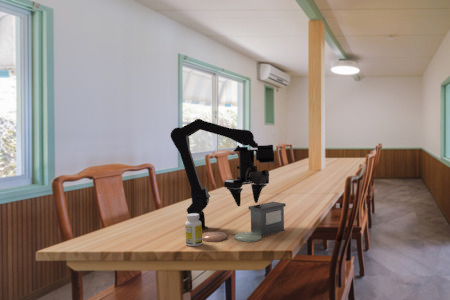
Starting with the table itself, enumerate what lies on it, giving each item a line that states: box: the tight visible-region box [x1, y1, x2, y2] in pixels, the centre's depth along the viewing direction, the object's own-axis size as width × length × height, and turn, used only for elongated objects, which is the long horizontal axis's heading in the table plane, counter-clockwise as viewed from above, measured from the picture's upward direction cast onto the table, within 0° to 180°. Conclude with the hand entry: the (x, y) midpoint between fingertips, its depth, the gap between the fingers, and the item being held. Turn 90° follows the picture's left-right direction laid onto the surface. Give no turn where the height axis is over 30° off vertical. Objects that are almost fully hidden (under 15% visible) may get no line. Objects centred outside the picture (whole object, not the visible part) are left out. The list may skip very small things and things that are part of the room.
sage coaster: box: [234, 231, 262, 243], centre depth 127 cm, size 9×9×1 cm
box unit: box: [248, 201, 287, 238], centre depth 134 cm, size 6×13×10 cm, turn 131°
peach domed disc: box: [202, 231, 227, 243], centre depth 129 cm, size 9×9×1 cm
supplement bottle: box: [184, 213, 203, 247], centre depth 122 cm, size 5×5×10 cm
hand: (247, 204), depth 141 cm, fingers open, 9 cm apart
